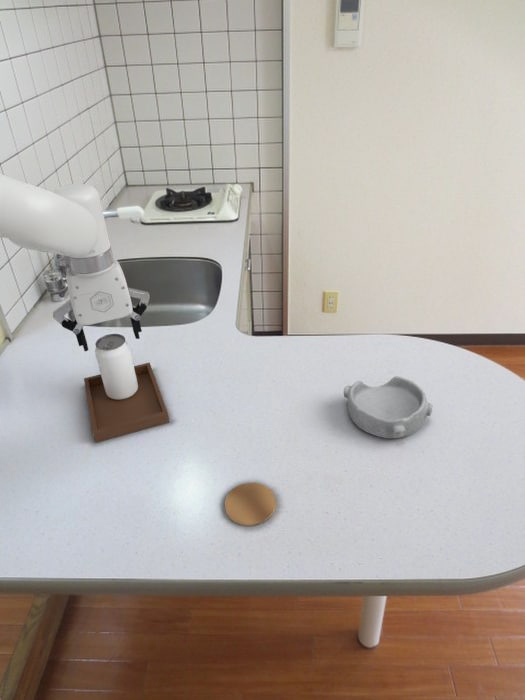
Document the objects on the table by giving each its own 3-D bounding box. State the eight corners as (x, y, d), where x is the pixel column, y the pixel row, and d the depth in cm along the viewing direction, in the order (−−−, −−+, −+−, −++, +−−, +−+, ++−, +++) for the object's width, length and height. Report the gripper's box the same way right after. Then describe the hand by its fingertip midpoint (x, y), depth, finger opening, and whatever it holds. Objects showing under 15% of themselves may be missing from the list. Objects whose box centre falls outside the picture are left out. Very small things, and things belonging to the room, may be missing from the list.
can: (144, 383, 108) (133, 334, 102) (129, 403, 103) (117, 353, 96) (116, 379, 110) (103, 330, 103) (100, 398, 105) (86, 348, 98)
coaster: (257, 534, 78) (256, 532, 77) (214, 511, 82) (214, 509, 81) (285, 498, 83) (285, 496, 83) (244, 477, 87) (244, 475, 87)
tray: (169, 422, 99) (167, 412, 97) (95, 442, 95) (93, 433, 94) (151, 371, 112) (149, 362, 111) (86, 387, 109) (83, 378, 107)
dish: (333, 407, 101) (334, 386, 98) (391, 384, 105) (394, 364, 103) (380, 455, 90) (383, 434, 87) (442, 427, 95) (447, 406, 92)
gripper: (38, 278, 85) (66, 363, 95) (144, 258, 90) (160, 340, 100) (37, 260, 91) (63, 342, 101) (136, 241, 95) (152, 321, 105)
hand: (111, 341), depth 100 cm, fingers open, 9 cm apart
